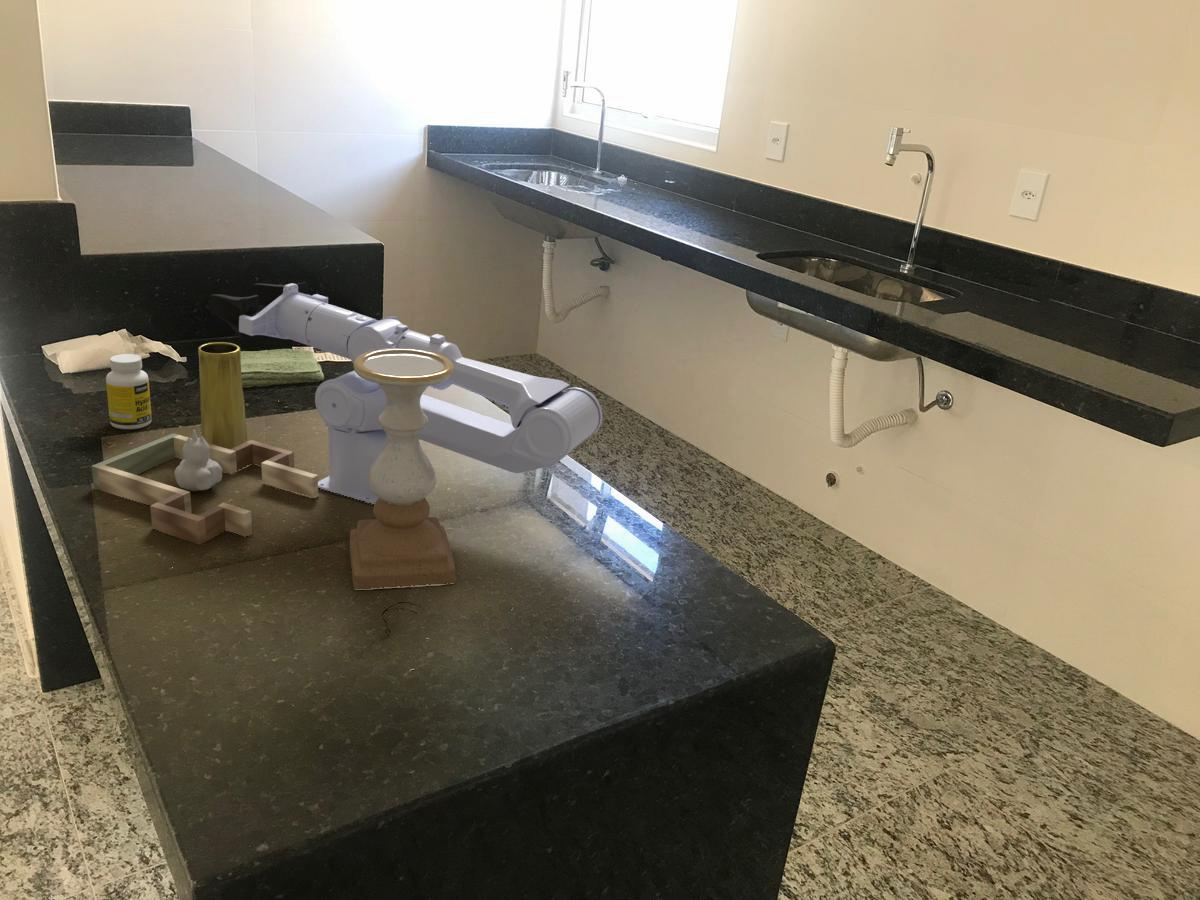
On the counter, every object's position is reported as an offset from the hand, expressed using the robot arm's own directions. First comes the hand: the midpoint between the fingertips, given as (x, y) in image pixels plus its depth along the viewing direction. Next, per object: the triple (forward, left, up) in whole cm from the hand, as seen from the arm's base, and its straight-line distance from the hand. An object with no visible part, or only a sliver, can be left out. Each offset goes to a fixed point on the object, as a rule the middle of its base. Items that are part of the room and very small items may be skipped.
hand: (233, 296), depth 125 cm
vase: (+3, 0, -22) cm, 22 cm away
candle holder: (-35, +14, -22) cm, 44 cm away
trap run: (-5, +12, -22) cm, 25 cm away
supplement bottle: (+19, +1, -22) cm, 29 cm away
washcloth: (+19, -27, -22) cm, 40 cm away
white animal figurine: (-4, +12, -22) cm, 25 cm away
